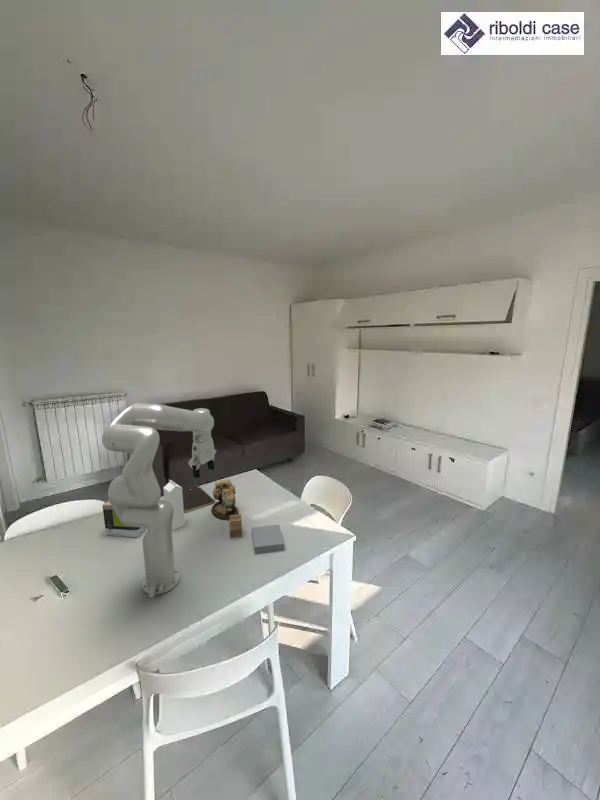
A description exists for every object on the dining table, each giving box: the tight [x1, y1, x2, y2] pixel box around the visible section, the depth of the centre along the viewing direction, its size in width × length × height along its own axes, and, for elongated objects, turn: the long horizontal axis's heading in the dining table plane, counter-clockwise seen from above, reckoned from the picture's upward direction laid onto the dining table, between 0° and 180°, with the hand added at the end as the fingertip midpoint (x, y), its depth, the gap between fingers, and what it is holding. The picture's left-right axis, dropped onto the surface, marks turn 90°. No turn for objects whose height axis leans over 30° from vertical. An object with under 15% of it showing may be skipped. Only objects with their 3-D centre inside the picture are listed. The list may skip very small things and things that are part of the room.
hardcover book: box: [182, 484, 216, 514], centre depth 179 cm, size 16×23×2 cm
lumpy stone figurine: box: [211, 478, 240, 521], centre depth 166 cm, size 18×12×17 cm, turn 42°
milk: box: [163, 478, 186, 532], centre depth 153 cm, size 6×6×22 cm
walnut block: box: [229, 513, 243, 539], centre depth 148 cm, size 5×5×8 cm
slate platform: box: [251, 524, 285, 555], centre depth 144 cm, size 14×12×3 cm
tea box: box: [101, 500, 147, 538], centre depth 149 cm, size 15×10×15 cm, turn 84°
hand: (204, 473), depth 151 cm, fingers open, 9 cm apart
